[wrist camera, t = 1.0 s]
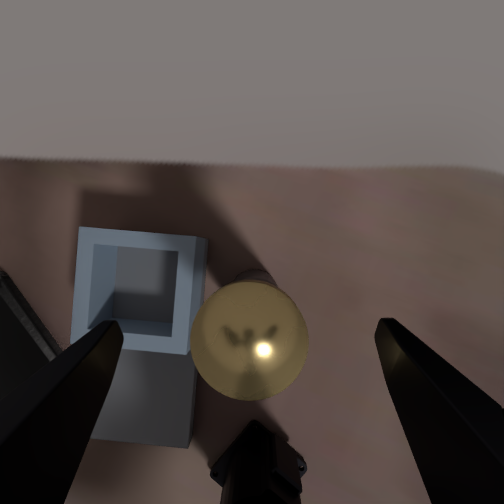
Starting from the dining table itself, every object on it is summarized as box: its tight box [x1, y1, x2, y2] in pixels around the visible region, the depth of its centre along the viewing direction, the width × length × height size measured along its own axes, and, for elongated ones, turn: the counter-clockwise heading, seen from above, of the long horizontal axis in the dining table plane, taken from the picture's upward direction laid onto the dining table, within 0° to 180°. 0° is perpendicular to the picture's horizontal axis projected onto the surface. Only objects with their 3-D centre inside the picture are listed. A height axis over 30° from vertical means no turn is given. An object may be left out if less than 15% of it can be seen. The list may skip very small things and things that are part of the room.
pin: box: [190, 269, 309, 401], centre depth 19 cm, size 5×5×13 cm
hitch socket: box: [70, 227, 209, 449], centre depth 23 cm, size 18×9×5 cm, turn 175°
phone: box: [0, 271, 63, 400], centre depth 26 cm, size 8×1×15 cm
